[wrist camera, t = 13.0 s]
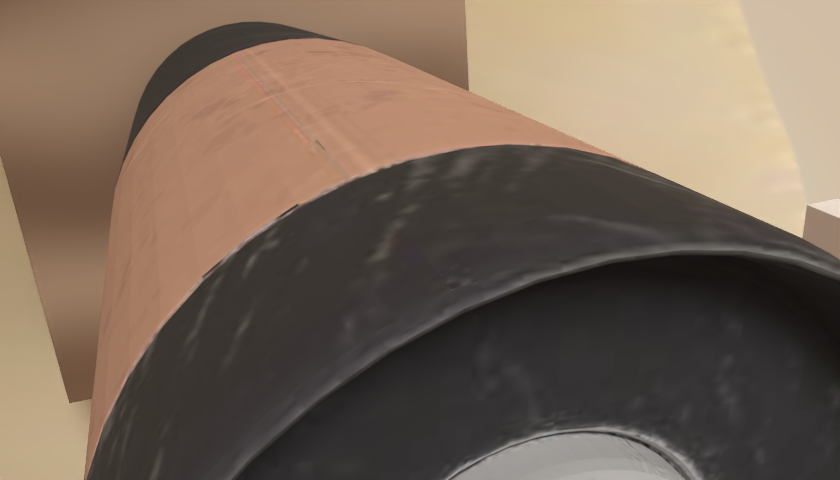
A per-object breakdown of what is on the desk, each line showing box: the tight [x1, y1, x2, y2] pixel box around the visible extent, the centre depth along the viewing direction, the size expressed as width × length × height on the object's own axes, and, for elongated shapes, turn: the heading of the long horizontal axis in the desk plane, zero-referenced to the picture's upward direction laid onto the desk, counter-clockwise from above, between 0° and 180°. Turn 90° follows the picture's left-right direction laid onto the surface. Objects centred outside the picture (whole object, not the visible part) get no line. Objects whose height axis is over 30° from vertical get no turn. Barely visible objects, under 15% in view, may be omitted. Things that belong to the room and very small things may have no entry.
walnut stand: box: [0, 0, 469, 403], centre depth 25 cm, size 15×14×4 cm
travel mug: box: [84, 22, 840, 480], centre depth 15 cm, size 8×8×20 cm
